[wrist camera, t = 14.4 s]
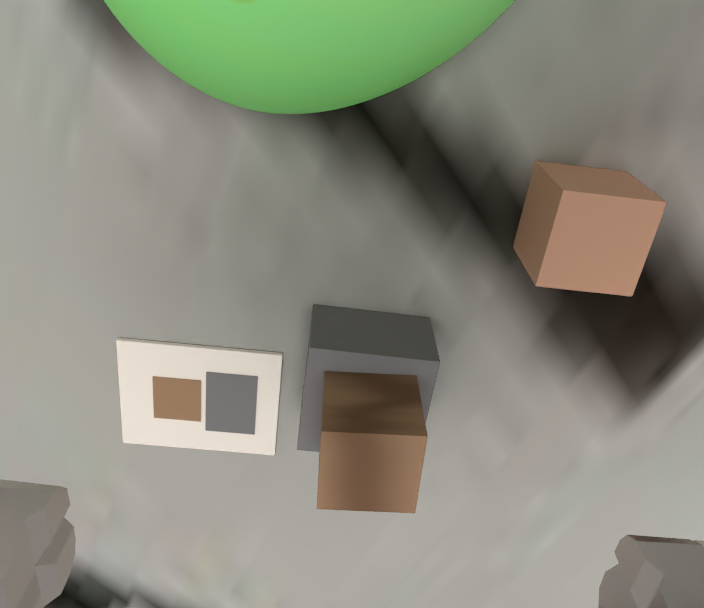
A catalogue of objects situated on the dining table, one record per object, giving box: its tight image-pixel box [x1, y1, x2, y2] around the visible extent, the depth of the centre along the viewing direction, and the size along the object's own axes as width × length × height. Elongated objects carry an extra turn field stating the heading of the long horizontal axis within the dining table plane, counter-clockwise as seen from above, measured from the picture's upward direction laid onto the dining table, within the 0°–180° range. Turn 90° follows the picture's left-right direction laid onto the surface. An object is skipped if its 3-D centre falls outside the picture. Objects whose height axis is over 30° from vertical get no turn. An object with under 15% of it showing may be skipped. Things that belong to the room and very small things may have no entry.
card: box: [116, 338, 283, 455], centre depth 41 cm, size 10×8×1 cm
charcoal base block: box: [297, 304, 440, 452], centre depth 38 cm, size 7×7×5 cm
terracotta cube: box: [513, 161, 667, 296], centre depth 33 cm, size 5×5×5 cm
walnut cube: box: [317, 371, 427, 513], centre depth 33 cm, size 5×5×5 cm
